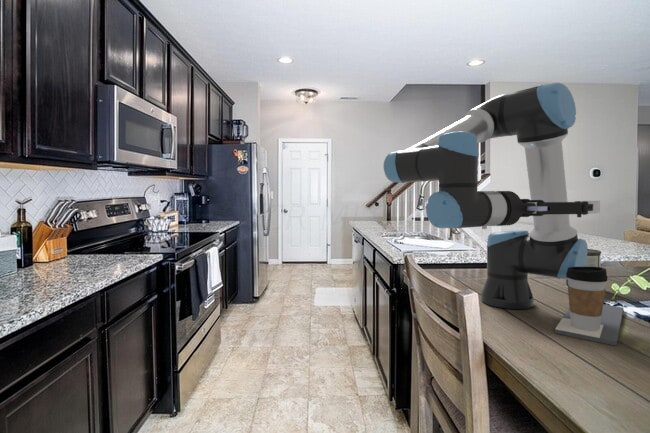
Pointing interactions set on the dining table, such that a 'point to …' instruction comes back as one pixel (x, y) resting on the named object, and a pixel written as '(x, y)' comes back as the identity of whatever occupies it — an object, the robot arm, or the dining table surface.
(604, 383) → the dining table surface
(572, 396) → the dining table surface
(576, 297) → the coffee cup
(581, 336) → the mat
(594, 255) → the coffee can
